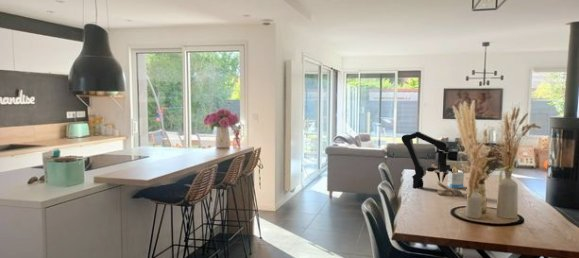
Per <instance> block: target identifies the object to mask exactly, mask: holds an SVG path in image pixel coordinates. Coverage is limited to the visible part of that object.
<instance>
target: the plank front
mask: <svg viewBox="0 0 579 258" xmlns="http://www.w3.org/2000/svg"><path fill="white" fill-rule="evenodd" d="M436 193H437V194H438V195H441V196H449V197H450V196H451V197H454V195H453V193H452V192H450V191H447V190H438V189H437V190H436Z"/></svg>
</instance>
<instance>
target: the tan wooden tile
mask: <svg viewBox="0 0 579 258" xmlns="http://www.w3.org/2000/svg"><path fill="white" fill-rule="evenodd" d="M449 188H450V190H451V192H452V193H453V197H461V198H462V197H464V194H463V192H462V191H461V190H460V188H451V187H449Z"/></svg>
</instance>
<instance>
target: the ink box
mask: <svg viewBox="0 0 579 258" xmlns="http://www.w3.org/2000/svg"><path fill="white" fill-rule="evenodd" d="M457 170H458V173H457V174H453V173H452V172H451V171H449V172H448V173H449V174H447V187H448V188H455V189H464V176H465V175H464V171H462V170H459V169H457Z"/></svg>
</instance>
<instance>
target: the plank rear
mask: <svg viewBox="0 0 579 258" xmlns="http://www.w3.org/2000/svg"><path fill="white" fill-rule="evenodd" d="M436 184H437V185H438V186H439V187H441V188H443V189H444V190H445V191H450V192H451V190H450V188H451V187H449V186H446V185H445V184H443V182H441V181H440V182H439V181H437V183H436Z"/></svg>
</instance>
